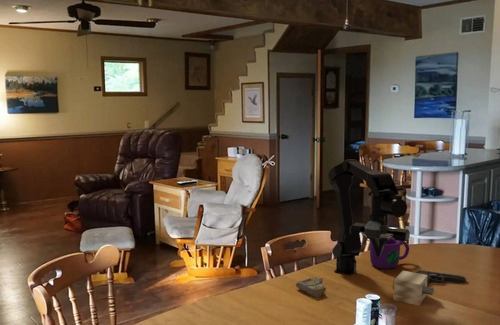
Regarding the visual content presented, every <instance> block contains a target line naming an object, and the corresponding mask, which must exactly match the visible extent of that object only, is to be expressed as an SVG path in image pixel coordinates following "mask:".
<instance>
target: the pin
mask: <svg viewBox="0 0 500 325" xmlns="http://www.w3.org/2000/svg"><path fill="white" fill-rule="evenodd" d="M396 277H397V276H395V277H394V278H393V282H392V290H393V292H394V279H395V278H396ZM422 293H423V294H427V295H429V296H434V293H435V287H433V286H428V287H427V286H422Z"/></svg>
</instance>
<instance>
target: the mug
mask: <svg viewBox="0 0 500 325" xmlns="http://www.w3.org/2000/svg"><path fill="white" fill-rule="evenodd" d="M401 245H403V246H404V248H405V251H404V253H403V255H401V256H400V254H401ZM409 253H410V246H409V244H408V243H407V242H406V241H398V240H395V239H394V238H393V237H392V238H391V239H390V240H388V241H387V242H386V244H385V246H384V248H383V251H382V253H381V256H380V257H377V255H376V252H375V249H374V246H373V244H372V242H371V241H369V258H370V263H371V265H372V266H373V267H375V268H377V267H378V269H382V270H383V269H384V270H391V269H395V268H396V267H397V266H398V265H399V262H400V261H401V260H404V259H405V258H407V257H408V255H409Z"/></svg>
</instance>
